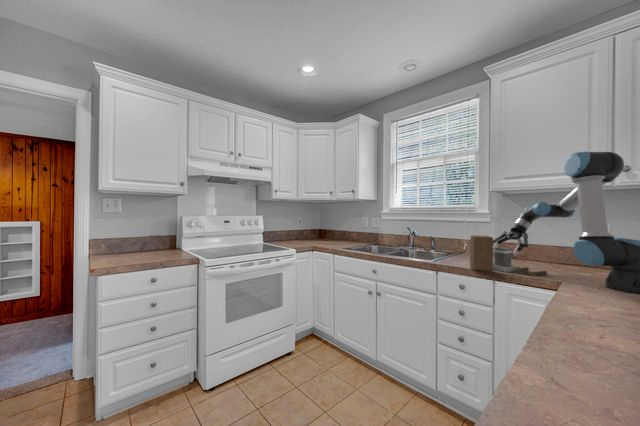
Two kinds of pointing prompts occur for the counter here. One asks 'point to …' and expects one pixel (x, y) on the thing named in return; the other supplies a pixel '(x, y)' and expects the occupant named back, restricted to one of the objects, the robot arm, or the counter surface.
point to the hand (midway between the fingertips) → (502, 252)
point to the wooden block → (481, 253)
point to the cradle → (526, 271)
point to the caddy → (503, 257)
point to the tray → (505, 268)
